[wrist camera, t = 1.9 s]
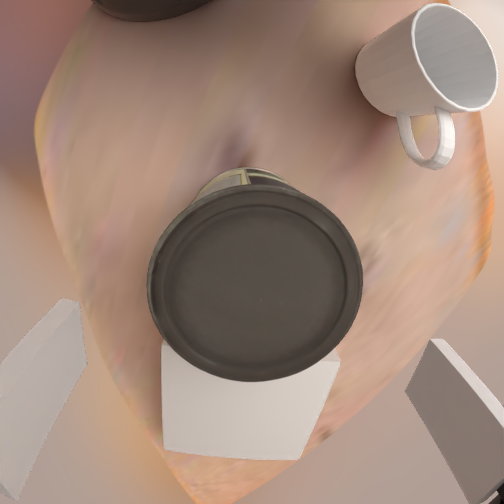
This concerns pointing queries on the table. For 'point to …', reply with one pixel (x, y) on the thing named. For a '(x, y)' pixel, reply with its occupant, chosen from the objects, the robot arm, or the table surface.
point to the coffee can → (254, 279)
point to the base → (241, 410)
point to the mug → (429, 74)
